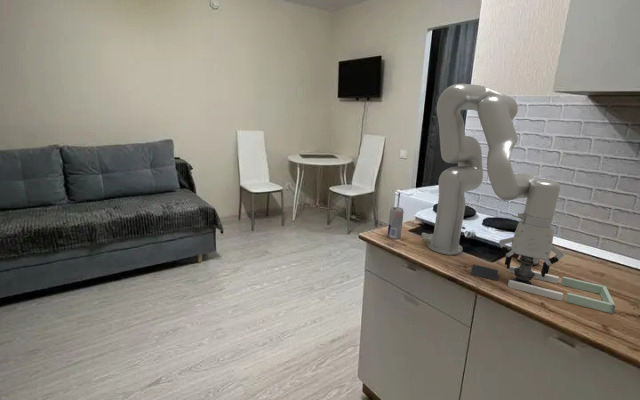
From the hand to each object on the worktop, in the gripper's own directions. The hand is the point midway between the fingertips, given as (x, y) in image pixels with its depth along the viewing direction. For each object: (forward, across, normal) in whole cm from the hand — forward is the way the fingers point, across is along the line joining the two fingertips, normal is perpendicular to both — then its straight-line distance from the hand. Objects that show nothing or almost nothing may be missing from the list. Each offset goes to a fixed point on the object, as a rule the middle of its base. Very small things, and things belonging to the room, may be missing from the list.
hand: (524, 271), depth 109 cm
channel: (+4, +3, 0) cm, 5 cm away
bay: (+4, +16, 0) cm, 17 cm away
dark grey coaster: (+4, -11, 0) cm, 12 cm away
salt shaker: (+4, 0, 0) cm, 4 cm away
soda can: (+4, +2, +18) cm, 19 cm away
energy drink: (+4, -46, +13) cm, 48 cm away
